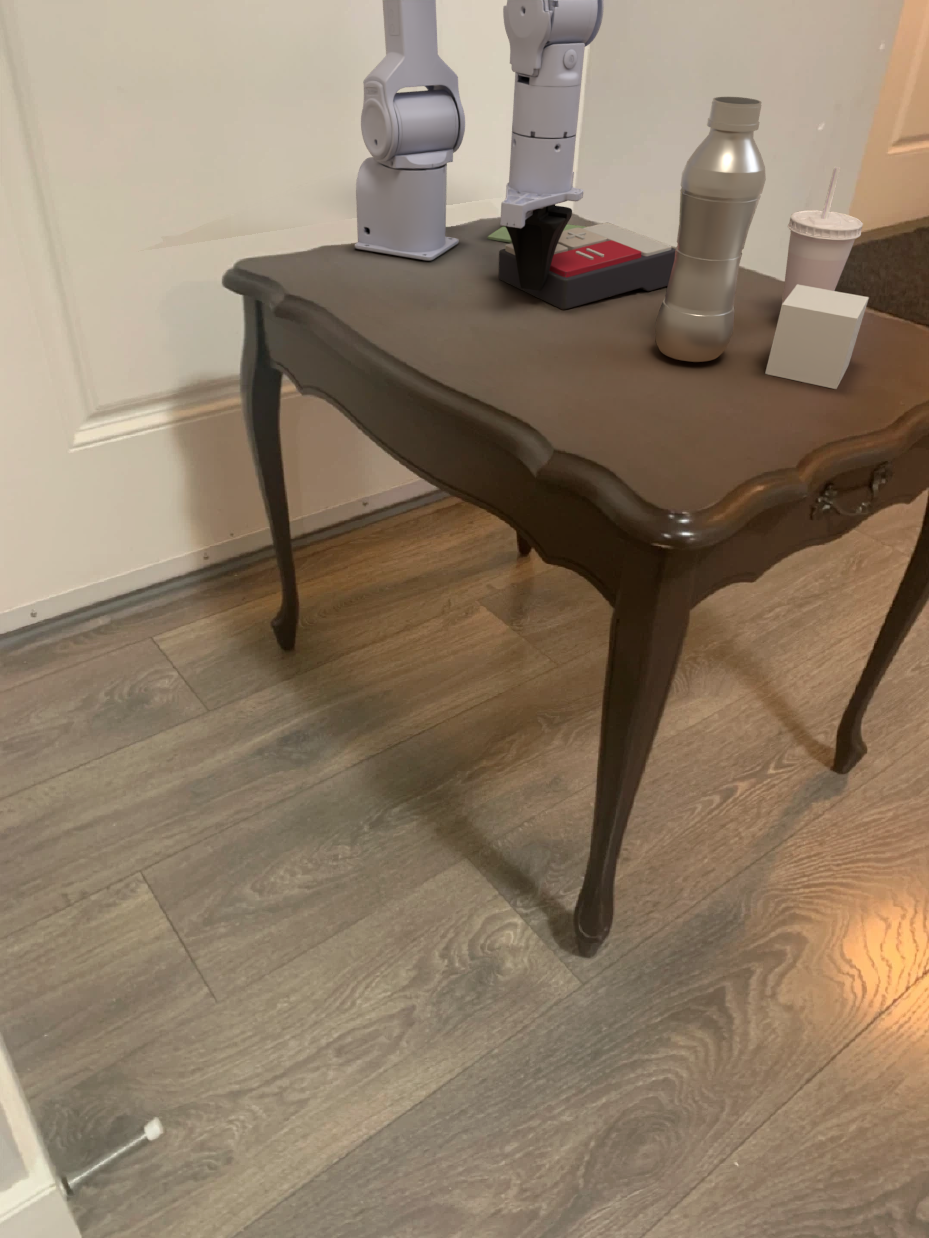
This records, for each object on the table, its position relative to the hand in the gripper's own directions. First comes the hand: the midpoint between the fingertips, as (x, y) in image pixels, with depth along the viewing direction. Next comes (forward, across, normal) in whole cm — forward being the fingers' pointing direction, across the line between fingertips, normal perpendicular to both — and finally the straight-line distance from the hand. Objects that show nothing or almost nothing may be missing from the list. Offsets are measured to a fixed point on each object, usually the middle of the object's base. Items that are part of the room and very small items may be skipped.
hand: (532, 287), depth 91 cm
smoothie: (+2, +7, -25) cm, 26 cm away
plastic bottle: (+2, -6, -17) cm, 18 cm away
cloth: (+2, +23, +5) cm, 24 cm away
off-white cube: (+2, -4, -27) cm, 27 cm away
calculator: (+2, +9, -3) cm, 10 cm away
